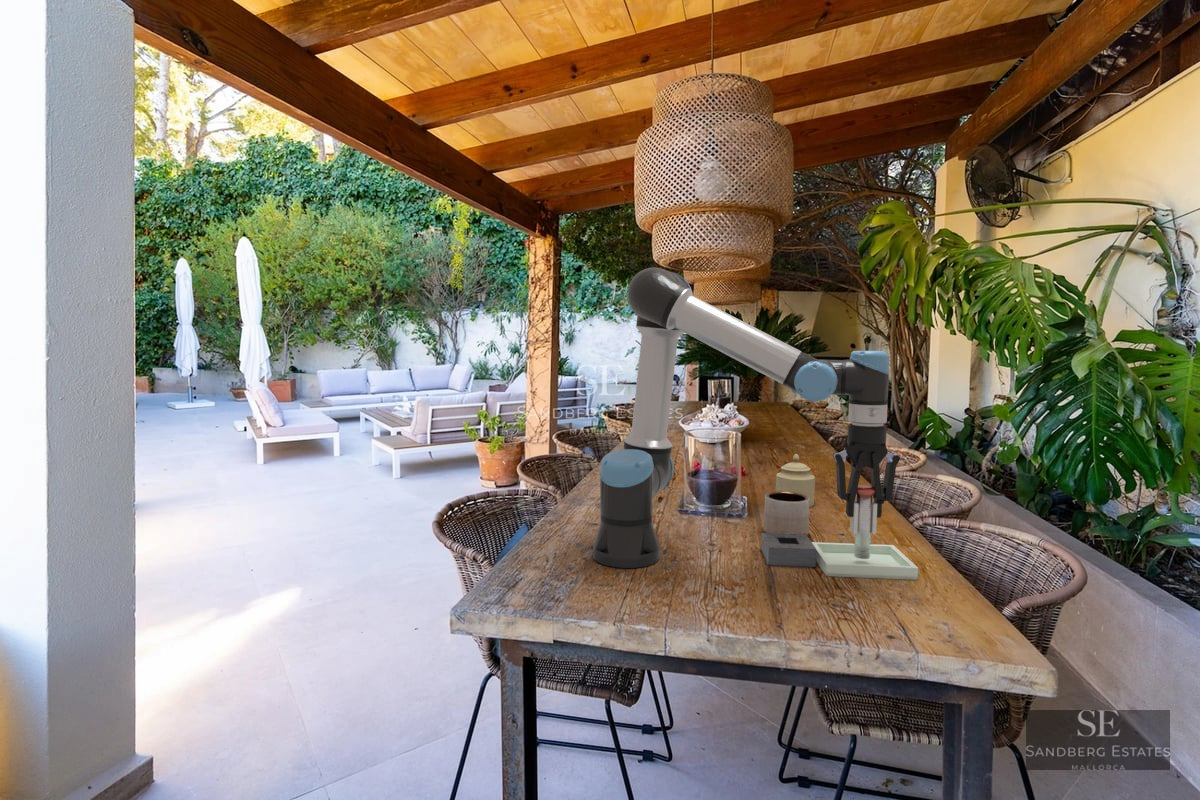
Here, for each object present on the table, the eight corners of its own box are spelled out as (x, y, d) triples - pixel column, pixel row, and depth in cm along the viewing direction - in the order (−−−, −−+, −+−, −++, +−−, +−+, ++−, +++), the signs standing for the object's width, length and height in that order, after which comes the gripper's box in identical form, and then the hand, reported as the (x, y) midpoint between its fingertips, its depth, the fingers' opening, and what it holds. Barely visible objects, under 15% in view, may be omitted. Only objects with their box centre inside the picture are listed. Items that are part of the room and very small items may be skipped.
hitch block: (768, 565, 134) (768, 547, 133) (761, 549, 144) (761, 532, 143) (815, 567, 133) (816, 549, 132) (805, 551, 143) (805, 534, 142)
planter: (811, 541, 149) (812, 503, 148) (764, 538, 151) (766, 500, 150) (805, 528, 160) (807, 492, 159) (762, 525, 162) (763, 490, 161)
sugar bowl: (763, 496, 192) (764, 448, 191) (795, 494, 194) (797, 447, 193) (786, 509, 178) (788, 457, 176) (821, 507, 180) (823, 456, 178)
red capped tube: (854, 559, 131) (857, 489, 130) (848, 552, 136) (850, 484, 134) (875, 560, 131) (878, 490, 129) (869, 553, 135) (872, 485, 134)
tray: (826, 576, 128) (826, 564, 127) (810, 552, 141) (811, 542, 141) (917, 579, 126) (918, 567, 125) (892, 555, 139) (893, 545, 139)
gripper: (832, 425, 128) (828, 535, 130) (914, 426, 126) (909, 538, 128) (823, 420, 135) (819, 525, 137) (900, 421, 133) (895, 527, 136)
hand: (862, 531), depth 133 cm, fingers closed on red capped tube, 3 cm apart
